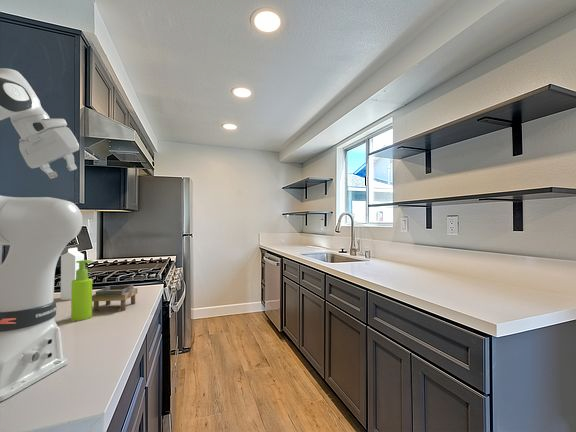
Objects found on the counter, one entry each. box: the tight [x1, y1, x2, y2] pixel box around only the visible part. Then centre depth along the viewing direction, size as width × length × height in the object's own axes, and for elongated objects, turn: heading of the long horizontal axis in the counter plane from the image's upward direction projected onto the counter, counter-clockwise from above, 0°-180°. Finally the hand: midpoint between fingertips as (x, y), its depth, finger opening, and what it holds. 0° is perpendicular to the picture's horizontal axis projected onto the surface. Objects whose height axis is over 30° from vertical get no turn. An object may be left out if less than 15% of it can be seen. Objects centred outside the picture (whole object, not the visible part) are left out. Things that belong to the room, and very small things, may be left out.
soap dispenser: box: [70, 259, 95, 322], centre depth 101 cm, size 6×7×20 cm
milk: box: [60, 247, 85, 301], centre depth 128 cm, size 6×6×22 cm
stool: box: [92, 284, 138, 313], centre depth 113 cm, size 11×12×8 cm
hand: (63, 173), depth 89 cm, fingers open, 8 cm apart
